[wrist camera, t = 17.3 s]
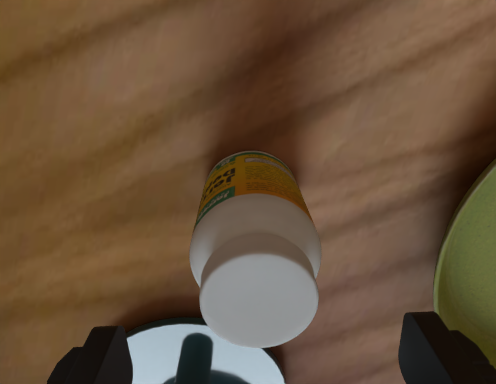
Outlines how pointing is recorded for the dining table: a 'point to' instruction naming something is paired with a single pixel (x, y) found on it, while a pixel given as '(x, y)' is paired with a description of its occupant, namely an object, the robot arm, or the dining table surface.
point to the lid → (196, 356)
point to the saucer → (470, 266)
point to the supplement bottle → (255, 252)
